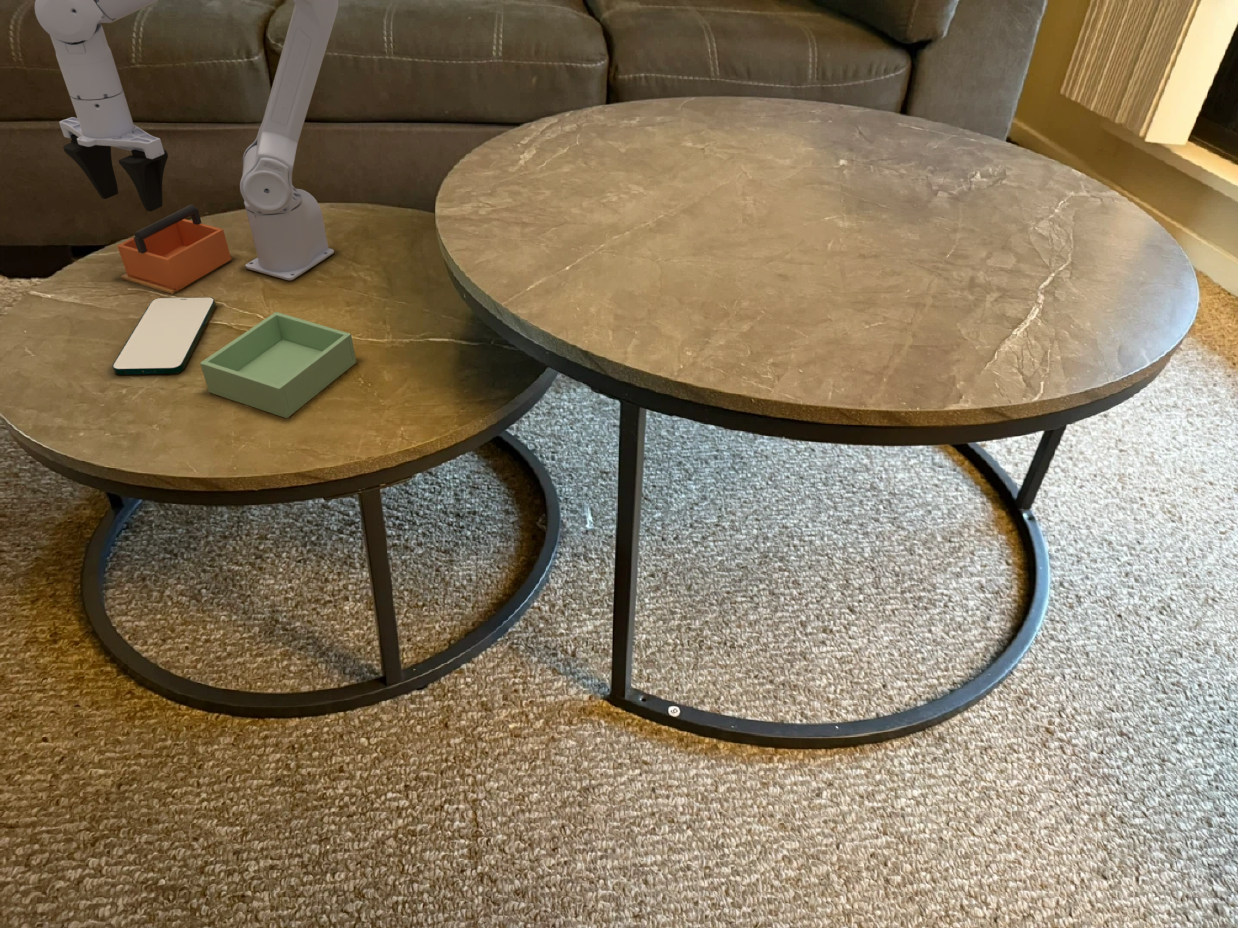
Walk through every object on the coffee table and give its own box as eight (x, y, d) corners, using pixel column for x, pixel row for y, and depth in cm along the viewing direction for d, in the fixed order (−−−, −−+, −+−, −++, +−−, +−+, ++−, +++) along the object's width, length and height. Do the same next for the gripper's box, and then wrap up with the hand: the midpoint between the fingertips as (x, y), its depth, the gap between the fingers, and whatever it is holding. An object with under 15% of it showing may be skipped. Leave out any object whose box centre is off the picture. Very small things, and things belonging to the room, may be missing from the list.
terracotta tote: (184, 245, 129) (170, 197, 124) (232, 258, 126) (219, 209, 121) (126, 276, 121) (109, 226, 117) (175, 291, 119) (159, 240, 114)
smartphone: (182, 374, 105) (218, 303, 117) (180, 368, 104) (216, 296, 117) (111, 376, 105) (154, 303, 117) (108, 369, 104) (152, 297, 116)
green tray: (282, 339, 111) (275, 311, 109) (356, 362, 108) (351, 333, 105) (209, 392, 103) (199, 362, 100) (287, 418, 99) (279, 388, 97)
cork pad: (182, 245, 129) (182, 243, 129) (232, 259, 127) (231, 256, 126) (121, 278, 122) (120, 276, 121) (172, 294, 119) (171, 291, 119)
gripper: (22, 91, 106) (64, 201, 115) (114, 113, 102) (150, 226, 111) (73, 75, 111) (109, 182, 120) (163, 95, 107) (193, 204, 116)
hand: (132, 202), depth 116 cm, fingers open, 7 cm apart
